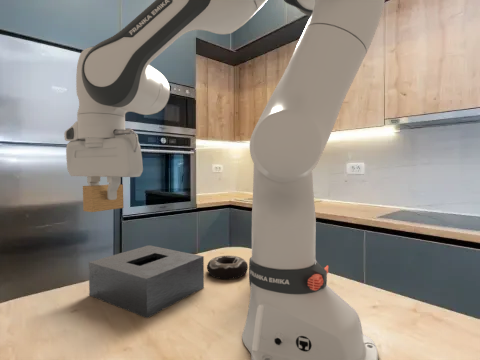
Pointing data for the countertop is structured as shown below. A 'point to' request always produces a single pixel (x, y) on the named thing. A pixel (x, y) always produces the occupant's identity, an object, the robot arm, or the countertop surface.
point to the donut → (227, 267)
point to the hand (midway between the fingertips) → (104, 199)
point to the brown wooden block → (100, 198)
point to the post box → (146, 278)
